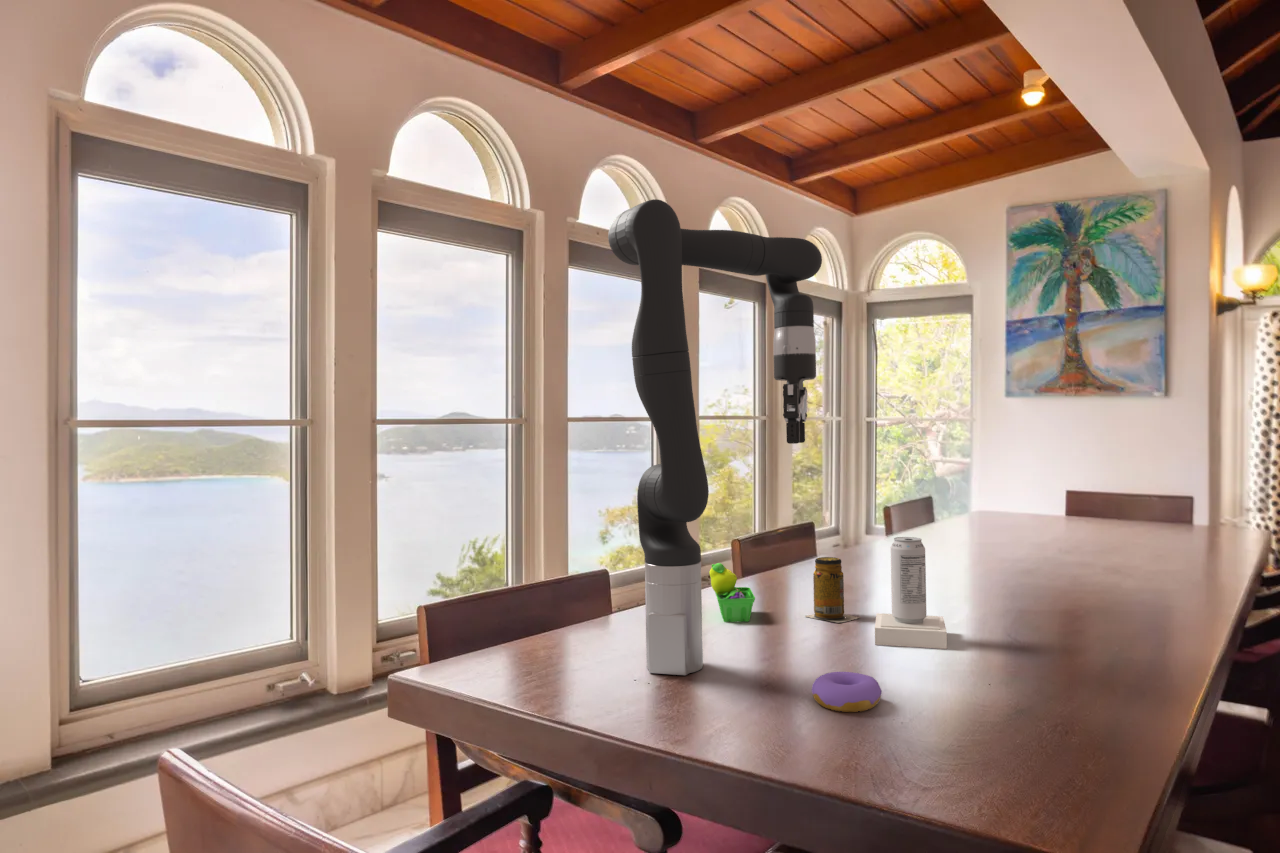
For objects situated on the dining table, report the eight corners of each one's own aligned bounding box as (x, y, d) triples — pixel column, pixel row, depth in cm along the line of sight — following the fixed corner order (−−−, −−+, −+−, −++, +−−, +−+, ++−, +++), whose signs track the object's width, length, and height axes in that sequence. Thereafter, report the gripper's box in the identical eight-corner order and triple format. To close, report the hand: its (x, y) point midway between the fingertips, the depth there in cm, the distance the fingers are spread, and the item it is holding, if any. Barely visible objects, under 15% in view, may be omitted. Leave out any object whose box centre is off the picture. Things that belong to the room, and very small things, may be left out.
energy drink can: (919, 616, 155) (917, 536, 155) (931, 624, 149) (930, 540, 149) (887, 617, 155) (885, 536, 155) (898, 625, 149) (896, 541, 149)
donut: (829, 685, 124) (835, 655, 124) (888, 711, 118) (894, 679, 118) (797, 703, 116) (802, 671, 116) (858, 731, 111) (864, 697, 110)
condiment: (826, 611, 175) (825, 554, 175) (860, 618, 169) (859, 559, 169) (804, 617, 171) (803, 558, 171) (838, 624, 164) (836, 563, 164)
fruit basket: (756, 623, 166) (755, 566, 166) (712, 624, 166) (711, 567, 166) (750, 610, 177) (749, 558, 177) (708, 611, 178) (707, 558, 178)
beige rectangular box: (946, 648, 144) (946, 630, 144) (875, 644, 148) (874, 626, 148) (943, 632, 156) (943, 615, 156) (876, 629, 159) (876, 612, 159)
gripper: (811, 349, 142) (813, 443, 142) (819, 355, 156) (820, 442, 156) (767, 351, 144) (769, 444, 144) (779, 357, 158) (780, 442, 158)
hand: (796, 443), depth 150 cm, fingers open, 8 cm apart
